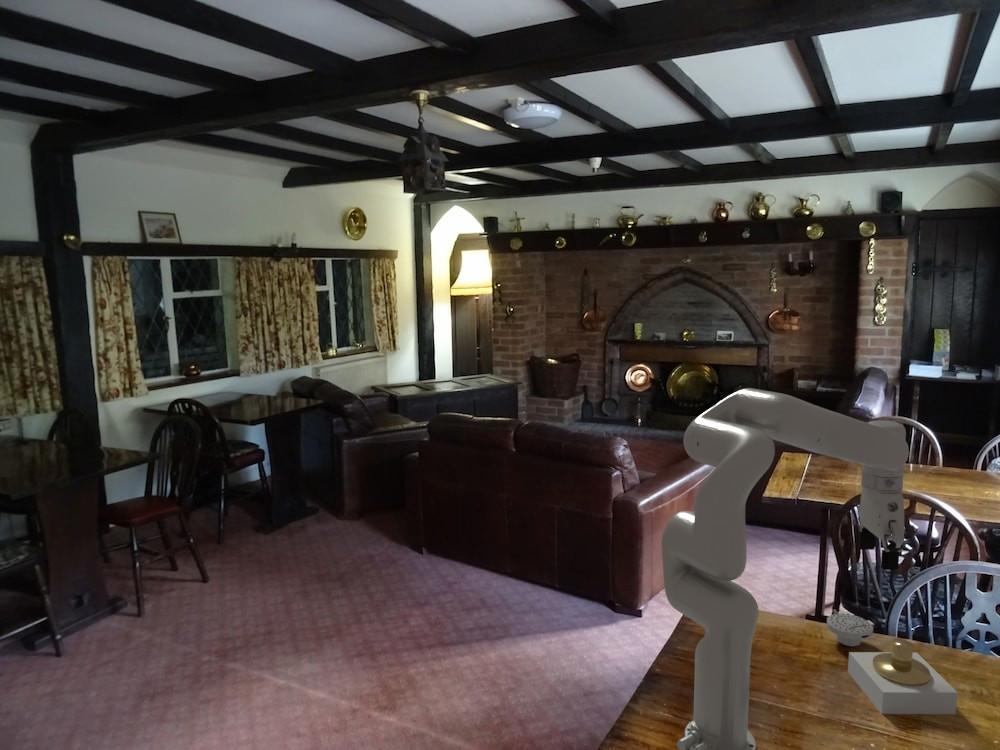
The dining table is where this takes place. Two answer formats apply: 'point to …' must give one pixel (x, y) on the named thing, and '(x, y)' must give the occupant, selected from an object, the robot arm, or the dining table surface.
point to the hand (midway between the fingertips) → (877, 558)
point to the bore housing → (902, 689)
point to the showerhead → (849, 628)
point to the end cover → (901, 665)
